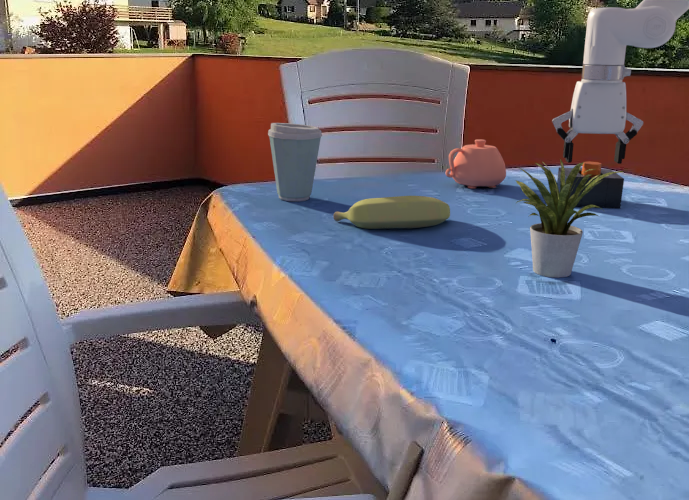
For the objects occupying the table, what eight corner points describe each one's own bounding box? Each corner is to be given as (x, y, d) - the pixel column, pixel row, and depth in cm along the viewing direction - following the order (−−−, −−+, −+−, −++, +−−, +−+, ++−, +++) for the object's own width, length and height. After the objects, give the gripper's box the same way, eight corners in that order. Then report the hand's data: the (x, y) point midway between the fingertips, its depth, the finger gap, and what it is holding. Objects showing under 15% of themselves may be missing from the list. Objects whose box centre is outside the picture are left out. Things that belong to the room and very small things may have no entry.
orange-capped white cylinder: (594, 200, 146) (599, 161, 144) (598, 204, 143) (603, 164, 141) (576, 199, 147) (581, 161, 144) (580, 203, 143) (585, 164, 141)
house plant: (597, 258, 107) (610, 150, 102) (626, 288, 93) (643, 166, 89) (501, 254, 107) (510, 147, 103) (517, 284, 94) (528, 163, 90)
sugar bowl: (515, 189, 156) (519, 142, 153) (456, 192, 152) (459, 144, 149) (489, 179, 167) (493, 135, 164) (434, 181, 163) (436, 136, 160)
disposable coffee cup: (302, 190, 150) (302, 119, 146) (332, 200, 142) (333, 124, 138) (258, 196, 144) (257, 122, 140) (288, 206, 136) (287, 128, 131)
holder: (607, 197, 149) (610, 169, 148) (620, 208, 139) (624, 178, 138) (555, 195, 150) (558, 167, 149) (565, 206, 140) (568, 176, 139)
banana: (443, 191, 116) (325, 199, 120) (445, 225, 116) (326, 231, 120) (450, 196, 129) (343, 203, 133) (451, 227, 129) (344, 232, 133)
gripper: (642, 74, 140) (632, 160, 145) (553, 73, 142) (545, 158, 147) (654, 76, 133) (643, 166, 138) (560, 75, 135) (552, 164, 140)
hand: (593, 162), depth 142 cm, fingers open, 9 cm apart
